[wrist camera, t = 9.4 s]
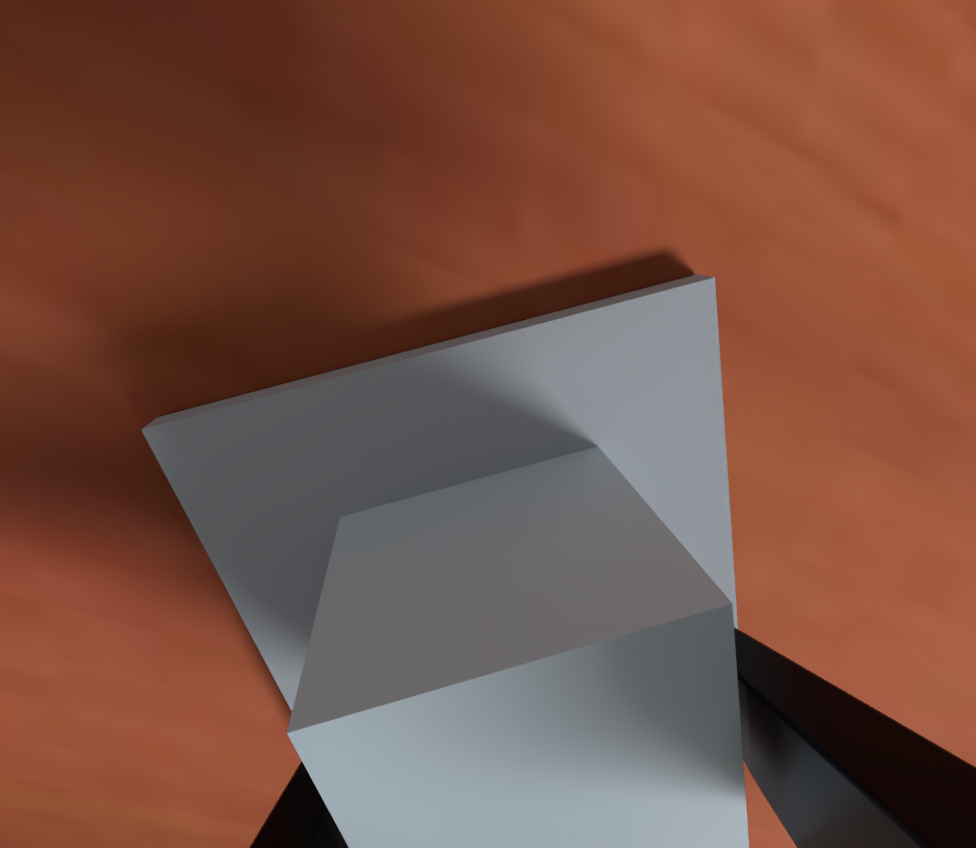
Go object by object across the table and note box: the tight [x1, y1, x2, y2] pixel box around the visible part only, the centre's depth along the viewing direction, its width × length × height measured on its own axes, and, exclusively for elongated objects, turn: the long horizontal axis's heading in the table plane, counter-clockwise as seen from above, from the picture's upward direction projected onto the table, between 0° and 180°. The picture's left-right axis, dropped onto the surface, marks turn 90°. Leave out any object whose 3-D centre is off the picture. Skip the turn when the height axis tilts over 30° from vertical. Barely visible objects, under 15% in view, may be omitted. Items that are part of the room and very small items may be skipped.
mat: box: [141, 274, 738, 711], centre depth 11 cm, size 10×10×1 cm
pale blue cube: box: [287, 446, 749, 848], centre depth 9 cm, size 5×5×4 cm
